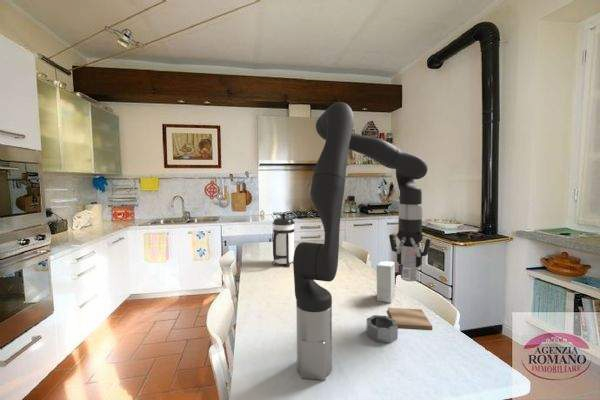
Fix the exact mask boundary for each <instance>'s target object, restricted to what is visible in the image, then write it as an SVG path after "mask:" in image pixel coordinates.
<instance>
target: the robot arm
mask: <svg viewBox="0 0 600 400" xmlns="http://www.w3.org/2000/svg"><path fill="white" fill-rule="evenodd" d="M354 126H355V115H354V112H353V110H352V108H351V106H350V105H349V104H347V102H346V103H345V102H343V101H338V102H337V101H336V102H334V103H333V104H331V105H330V106H329V107H328V108H326V109H325V111H324V112H323V113H322V114H321V115H320V116H319V117H318V118H317V120H316V122H315V129H316V132H317V134H318V135H319V137H321V138H322V140H325V143H324V146H323V149H322V151H321V154H320V156H319V157H318V160H317V162H316V164H315V167H314V170H313V173H312V179H311V185H310V193H309V194H310V199H311V202H312V204H313V206H314V208H315V210H316V212H317V215H318V216H319V219H320V221H321V223H322V226H323V231H324V242H323V243H320V242H319V243H318V242H317V243H316V242H309V241H308V242H305V241H304V242H303V241H302V242H300V243H298V244H297V245H296V247H295V248H294V257H293V262H292V265H293V269H292V270H293V281H294V282H293V283H294V284H293V285H294V295H295V300H296V309H295V310H296V367H297V372H298V373H299V374H300V378H301V379H311V380H321V381H324V380H326V378H327V377H328V376H329V375H330V374H331V372H332V370H333V323H332V322H333V299H332V298H333V297H332V294H331V292H330V291H329V290H328V289H326V288H324V287H323V286H321V285H320V284H319V283H317V282H316V281H321V282H332V281H334V279H335V277H336V275H337V273H338V266H339V255H340V253H339V250H340V249H339V248H340V228H341V226H340V225H341V216H342V209H343V208H342V207H343V200H344V193H345V186H346V174H347V173H346V172H347V166H348V165H347V164H348V156H349V150H351V151H353V152H355V153H358V154H360V155H363V156H365V157H368V159H369V158H370V159H372V160H373V161H375V162H377V163H379V164H380V165H382V166H383V167H385V168H388V169H391V170H392V169H393V170H395V178H396V183H397V187H398V190H399V207H398V220H397V221H398V226H397V227H398V228H397V230H398V231H397V233H391V234H389V235H388V237H389V238H388V239H389V243H390V249H391V251H392V252H395V253H396V262H397V263H398V265H401V249H402V247H403V245H404V246H410V247H413V248H414V250H415V251H416V254H417V257H416V267H417V269H418V268H420V267H421V266H422V264H423V257H426V256H427V255H429V252H430V247H431V244H432V240H433V239H432V237H426V236H424V235H423V227H422V226H423V206H422V205H423V203H422V202H423V201H422V199H423V198H422V197H423V196H422V195H423V192H422V188H421V187H419V186H417V185H416V184H415V180H420V179H423V178H424V177H425V176H426V175H427V173H428V165H427V163H426V161H425V160H424V159H423V158H421V157H420V156H417V155H415V154H412V153H410V152H407V151H404V150H402V149H400V148H398V147H397V146H395V145H393V144H391V143H390V142H388V141H386V140H384V139H382V138H377V137H373V136H367V135H362V134H359V133H355V132H354V131H353V129H354ZM397 239H398V240H399V242H400V243H399V245H398V246H397V241H396V240H397ZM422 241H423V244H424V247H423V250H422V247H421V245H420V243H421V242H422Z"/></svg>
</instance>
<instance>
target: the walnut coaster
mask: <svg viewBox="0 0 600 400" xmlns="http://www.w3.org/2000/svg"><path fill="white" fill-rule="evenodd" d="M387 312H388V314H389V316H390V317H389V318H391V319H394V320H395V321H396V324H397V326H398V328H404V329H405V328H406V329H422V330H423V329H424V330H433V324H432V323H431V322H430V321H429V319H428V318H427V315H426V314H425V313H424V311H423V309H420V308H399V307H388V308H387Z"/></svg>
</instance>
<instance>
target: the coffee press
mask: <svg viewBox="0 0 600 400" xmlns="http://www.w3.org/2000/svg"><path fill="white" fill-rule="evenodd" d="M272 225H273V226H272V232H273V234H272V255H273V261H272V263H271V265H272V266H273V267H274V266H276V265H277V264H278V265H279V264H280V265H285V267H286V268H290V264H293V257H294V252H295V221H294V219H293V218H292V217H286V214H285V213H281V216H280V217H276V218H275V219H273V222H272Z"/></svg>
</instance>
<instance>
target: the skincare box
mask: <svg viewBox="0 0 600 400" xmlns="http://www.w3.org/2000/svg"><path fill="white" fill-rule="evenodd" d="M395 265H396V264H395V261H389V260H388V261H387V260H381V261H380V262H379V263H378V264H377V265H376V300H377V301H378V302H384V303H389V304H391V303H392V301H393V300H394V299H395V297H396V282H395V281H396V274H395V273H396V272H395V268H396V267H395Z"/></svg>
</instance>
